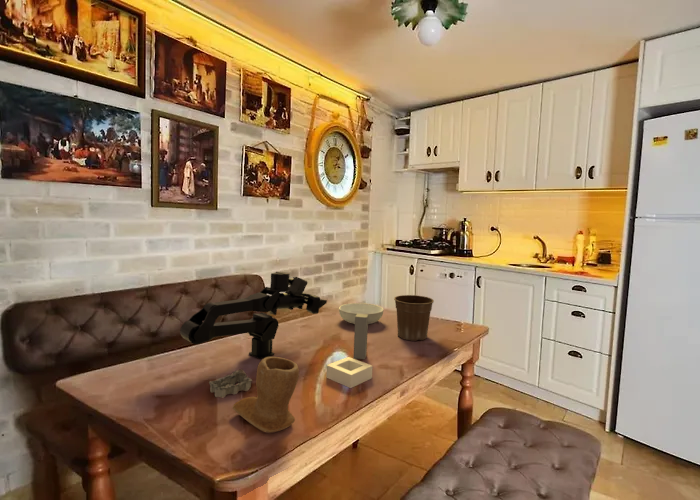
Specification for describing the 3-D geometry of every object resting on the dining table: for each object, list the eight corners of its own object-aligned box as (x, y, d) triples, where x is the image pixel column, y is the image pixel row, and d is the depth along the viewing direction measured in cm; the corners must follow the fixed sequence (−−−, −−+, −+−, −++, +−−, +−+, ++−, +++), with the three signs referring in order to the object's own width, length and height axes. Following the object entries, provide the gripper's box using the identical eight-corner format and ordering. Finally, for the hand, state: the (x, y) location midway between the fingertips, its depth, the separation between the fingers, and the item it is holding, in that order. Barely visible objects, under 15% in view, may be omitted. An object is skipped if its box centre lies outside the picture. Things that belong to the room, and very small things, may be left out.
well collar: (350, 388, 113) (351, 375, 113) (326, 377, 120) (326, 365, 120) (371, 378, 121) (372, 365, 121) (347, 368, 128) (348, 356, 127)
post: (353, 358, 137) (355, 316, 135) (355, 354, 141) (357, 313, 139) (364, 359, 136) (366, 317, 135) (366, 355, 140) (368, 314, 139)
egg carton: (243, 381, 116) (244, 367, 116) (254, 391, 110) (254, 377, 110) (207, 389, 110) (207, 375, 109) (216, 400, 104) (216, 385, 103)
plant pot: (388, 339, 159) (390, 300, 157) (396, 328, 174) (398, 293, 172) (429, 345, 154) (431, 305, 152) (433, 333, 169) (435, 297, 168)
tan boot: (307, 423, 94) (309, 363, 93) (264, 442, 86) (266, 376, 84) (272, 400, 105) (273, 345, 103) (231, 414, 96) (231, 356, 95)
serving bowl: (362, 314, 197) (363, 300, 196) (392, 324, 181) (392, 309, 180) (329, 320, 184) (329, 305, 183) (358, 331, 168) (358, 316, 167)
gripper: (303, 284, 135) (337, 283, 146) (274, 274, 148) (307, 274, 159) (299, 315, 136) (333, 312, 146) (271, 302, 149) (303, 300, 160)
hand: (319, 298), depth 153 cm, fingers open, 9 cm apart
